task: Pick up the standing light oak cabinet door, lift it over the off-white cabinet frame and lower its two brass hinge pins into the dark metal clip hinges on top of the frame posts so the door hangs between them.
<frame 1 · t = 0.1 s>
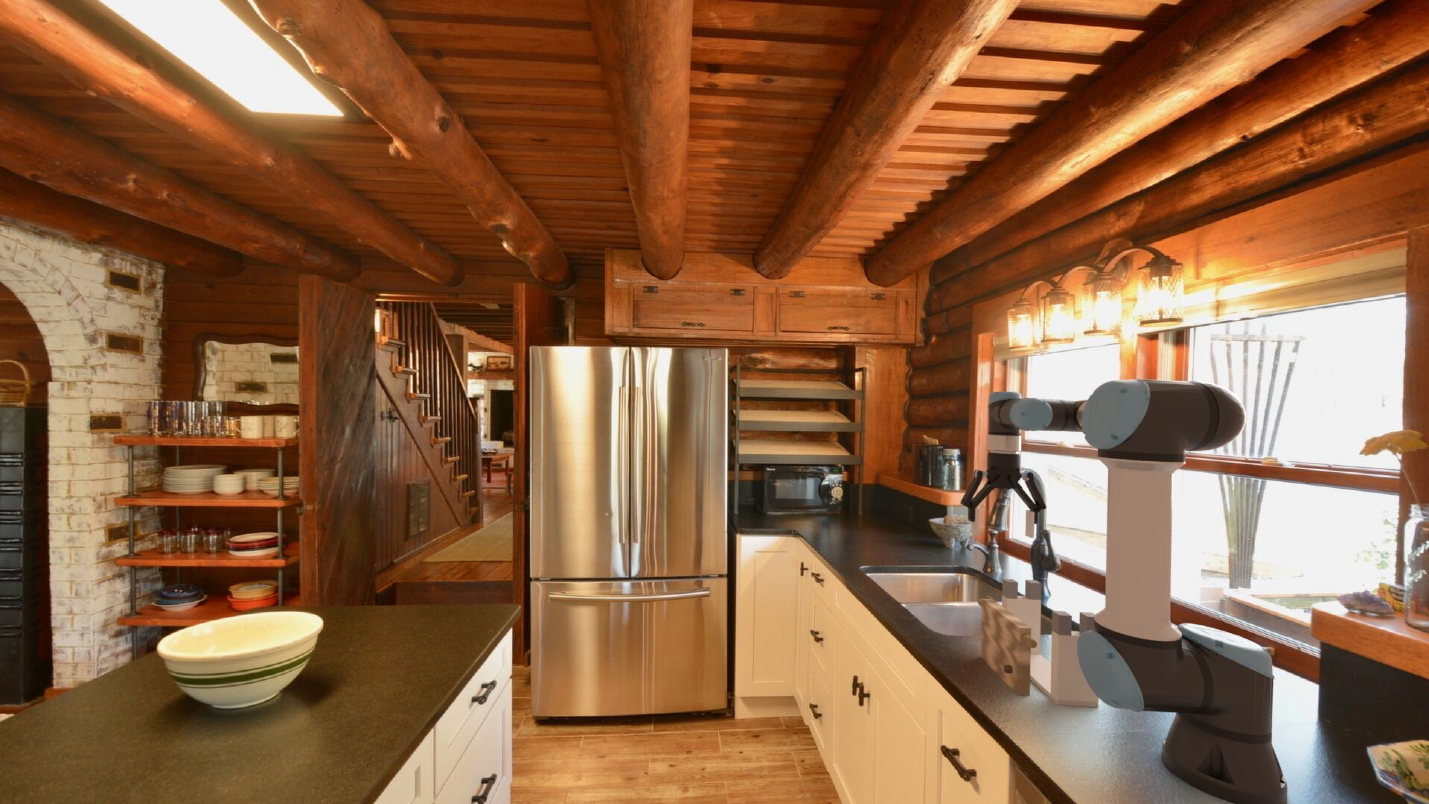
hand: (1002, 535, 141), 28 cm above the countertop, tool pointing down, fingers open, 13 cm apart
oak door: (1003, 675, 124), on the countertop
cabinet frame: (1044, 676, 124), on the countertop
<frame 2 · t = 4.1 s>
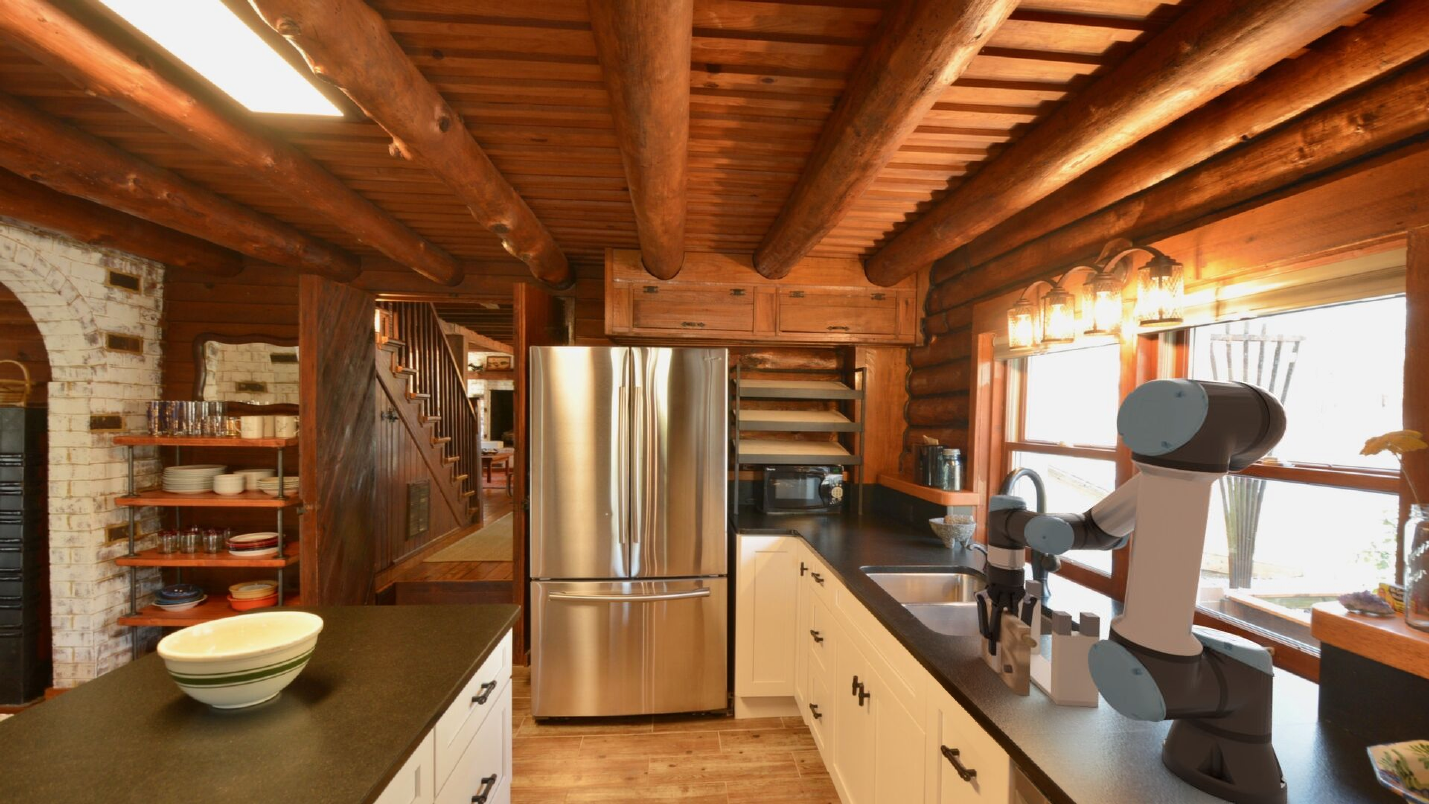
hand: (1003, 669, 124), 1 cm above the countertop, tool pointing down, fingers closed on oak door, 2 cm apart
oak door: (1003, 674, 124), on the countertop, touching gripper
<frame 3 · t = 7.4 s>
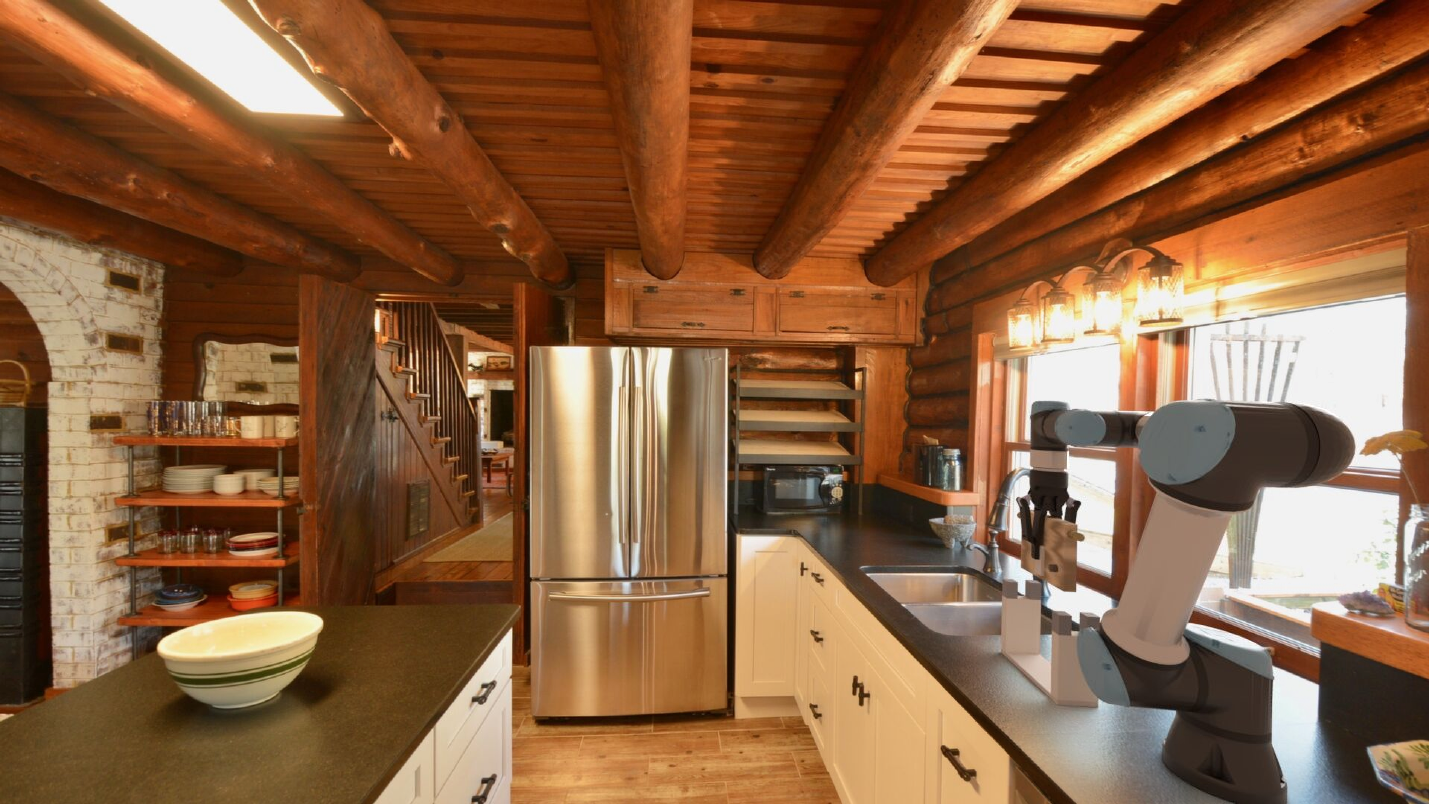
hand: (1046, 574, 124), 23 cm above the countertop, tool pointing down, fingers closed on oak door, 2 cm apart
oak door: (1046, 579, 124), point 22 cm above the countertop, touching gripper
when the fingers open (5 cm above the countertop, at t = 11.1 s): oak door drops 1 cm, resting on cabinet frame.
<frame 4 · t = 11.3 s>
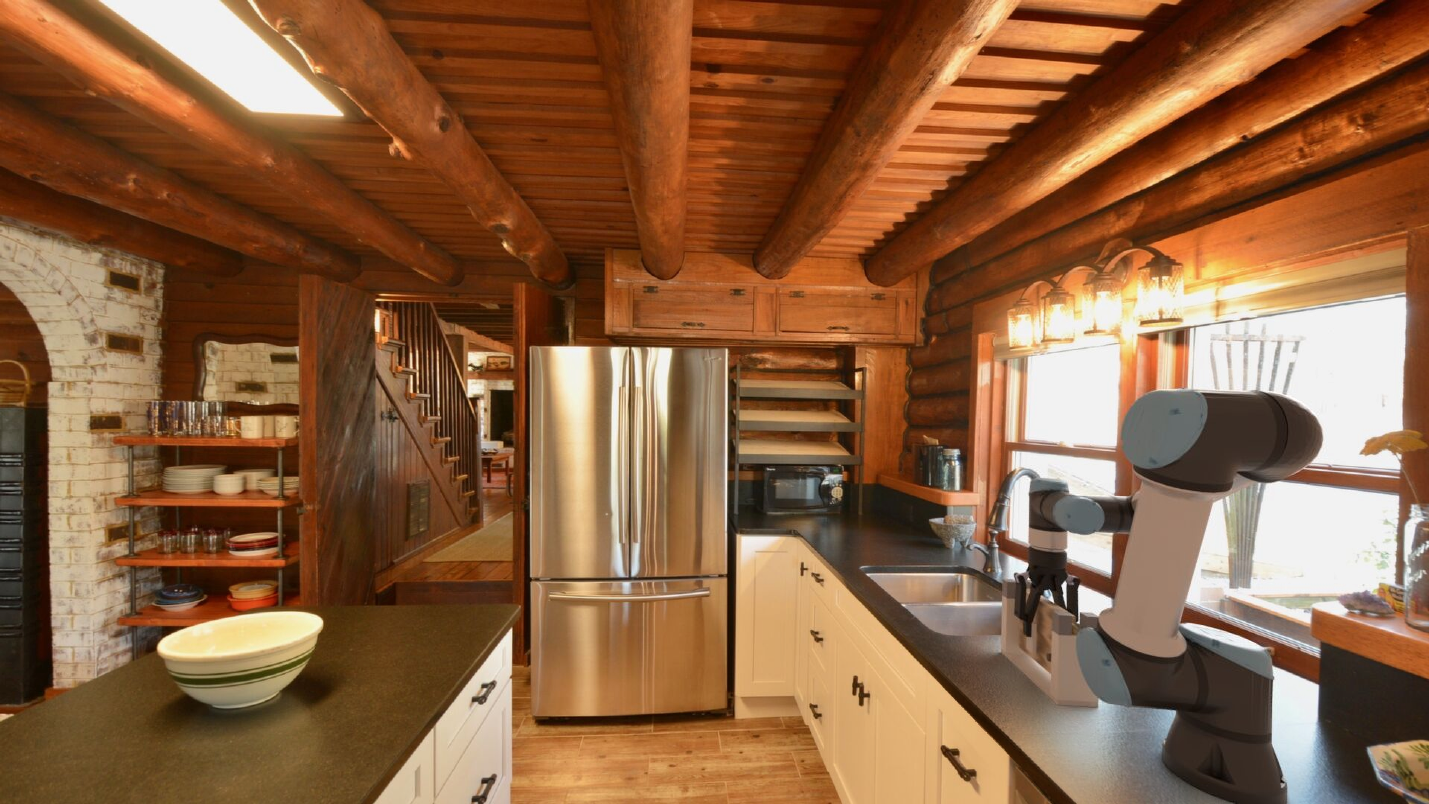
hand: (1045, 651, 124), 6 cm above the countertop, tool pointing down, fingers open, 5 cm apart
oak door: (1044, 664, 124), point 3 cm above the countertop, touching cabinet frame
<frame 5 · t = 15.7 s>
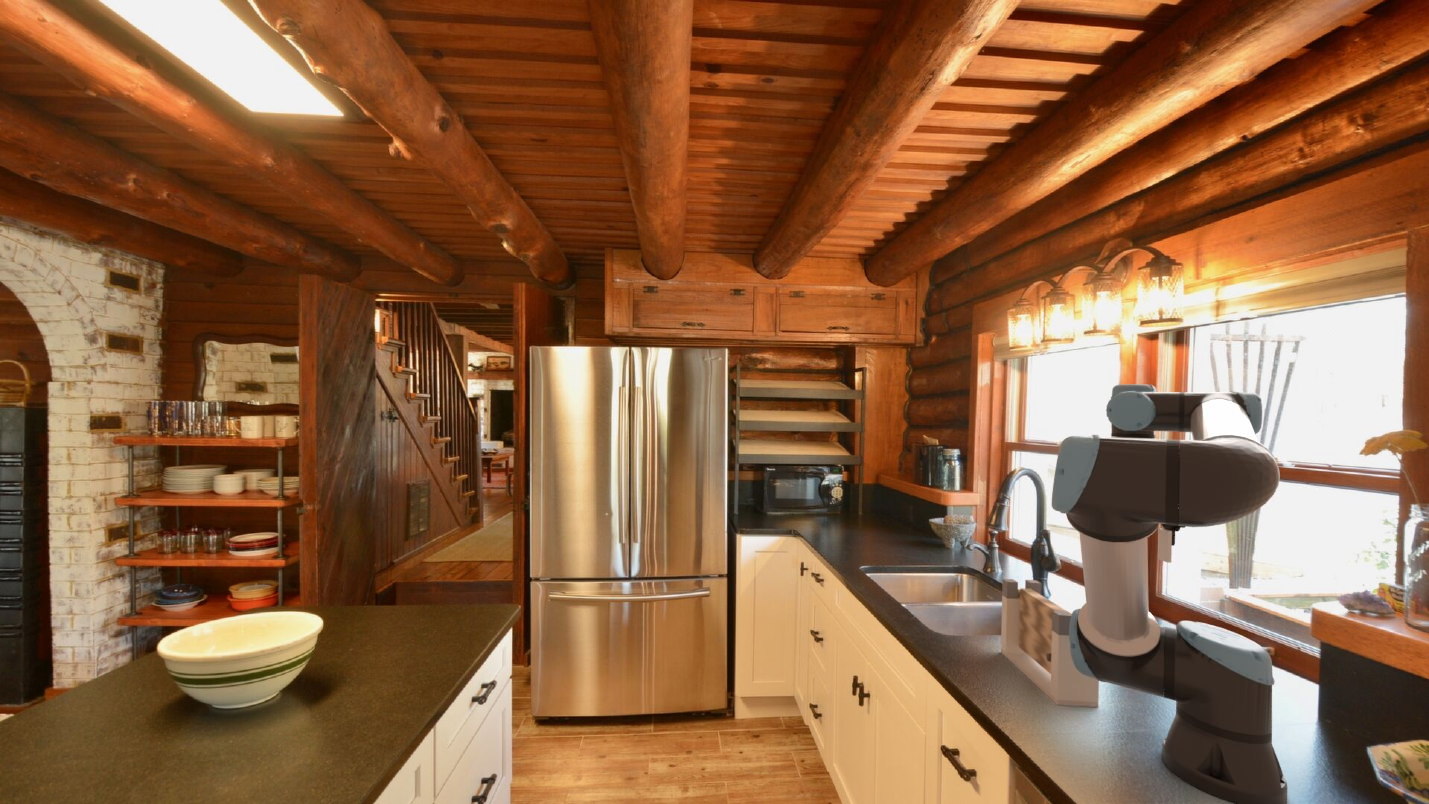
hand: (1130, 559, 116), 29 cm above the countertop, tool pointing down, fingers open, 13 cm apart
nothing on the countertop moved.
at the end: oak door 0.1 cm off-centre on the cabinet frame, point 2.8 cm above the cabinet frame's base; oak door tilted 0°; the gripper is holding nothing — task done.
